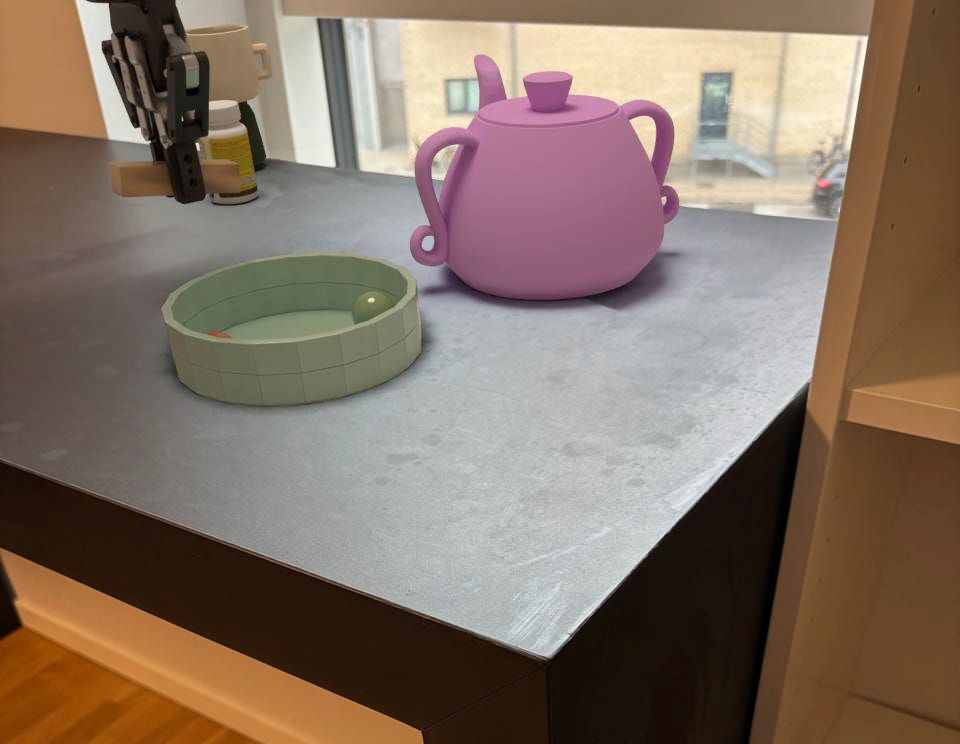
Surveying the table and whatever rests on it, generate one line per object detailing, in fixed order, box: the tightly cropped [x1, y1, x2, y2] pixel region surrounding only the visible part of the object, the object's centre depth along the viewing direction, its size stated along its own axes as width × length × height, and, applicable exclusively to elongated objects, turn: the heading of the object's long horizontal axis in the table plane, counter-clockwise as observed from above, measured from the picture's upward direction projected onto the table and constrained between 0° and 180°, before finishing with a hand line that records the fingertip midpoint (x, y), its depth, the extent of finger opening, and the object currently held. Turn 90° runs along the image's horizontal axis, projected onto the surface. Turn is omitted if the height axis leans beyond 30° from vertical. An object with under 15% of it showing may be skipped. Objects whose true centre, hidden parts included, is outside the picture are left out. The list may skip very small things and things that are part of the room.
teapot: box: [409, 53, 680, 301], centre depth 76 cm, size 22×22×14 cm
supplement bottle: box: [198, 100, 259, 205], centre depth 98 cm, size 5×5×8 cm
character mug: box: [185, 23, 273, 167], centre depth 106 cm, size 11×7×13 cm, turn 119°
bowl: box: [160, 251, 423, 407], centre depth 67 cm, size 16×16×4 cm
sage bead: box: [352, 291, 394, 325], centre depth 68 cm, size 3×3×3 cm
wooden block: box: [108, 159, 241, 198], centre depth 74 cm, size 9×2×2 cm, turn 127°
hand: (183, 197), depth 75 cm, fingers closed on wooden block, 2 cm apart
